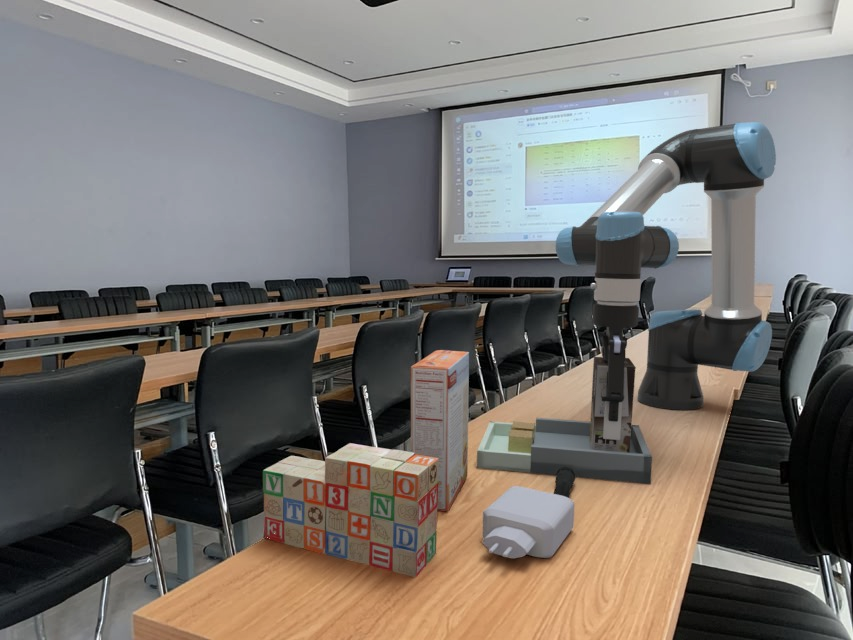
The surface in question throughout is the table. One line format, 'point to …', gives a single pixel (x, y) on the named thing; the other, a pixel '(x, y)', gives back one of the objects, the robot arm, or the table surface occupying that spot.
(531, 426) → the tan wooden cube
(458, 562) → the table surface
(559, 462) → the blue gray tray
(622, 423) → the coffee box
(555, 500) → the charger
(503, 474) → the table surface
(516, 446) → the tan yellow cube
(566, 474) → the flashlight
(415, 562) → the stack of blocks
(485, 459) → the tray
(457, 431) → the cracker box
